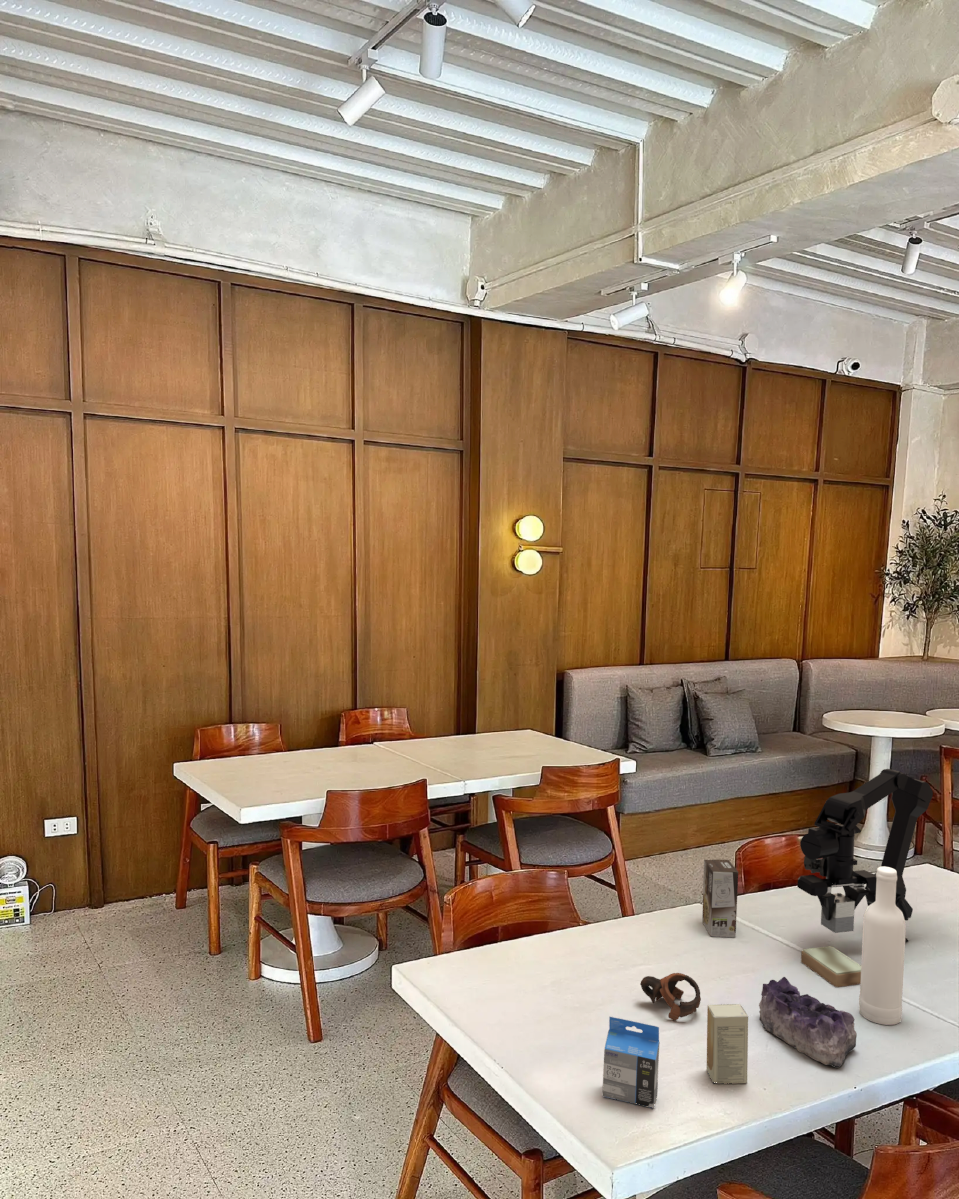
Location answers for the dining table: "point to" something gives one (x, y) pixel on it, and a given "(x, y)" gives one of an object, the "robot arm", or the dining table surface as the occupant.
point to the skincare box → (727, 1043)
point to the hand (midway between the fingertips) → (837, 918)
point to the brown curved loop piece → (671, 993)
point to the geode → (807, 1023)
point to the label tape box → (631, 1062)
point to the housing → (840, 915)
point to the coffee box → (720, 898)
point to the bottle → (883, 954)
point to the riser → (832, 966)
